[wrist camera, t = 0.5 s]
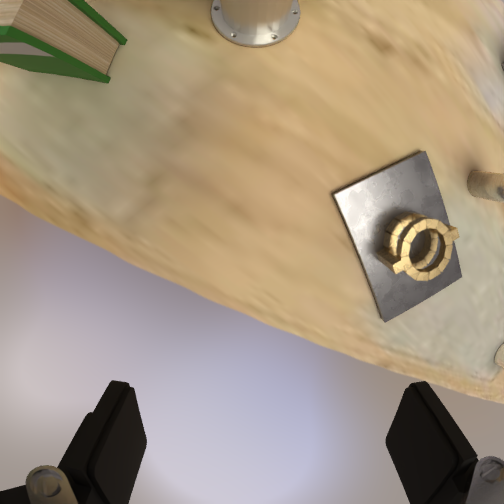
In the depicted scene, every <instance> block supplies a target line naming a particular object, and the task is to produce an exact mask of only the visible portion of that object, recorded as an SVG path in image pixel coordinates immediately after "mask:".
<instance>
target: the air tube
mask: <svg viewBox="0 0 504 504" xmlns="http://www.w3.org/2000/svg"><path fill="white" fill-rule="evenodd" d="M467 186H468V190H469V192H470V194H471V195H473V196H474V197H479V198H483V199H488V200H492V201H497V202H501V203H504V174H501V173H492V172H483V171H473V172H472V173H471V174H470V175H469V177H468V181H467Z"/></svg>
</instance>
